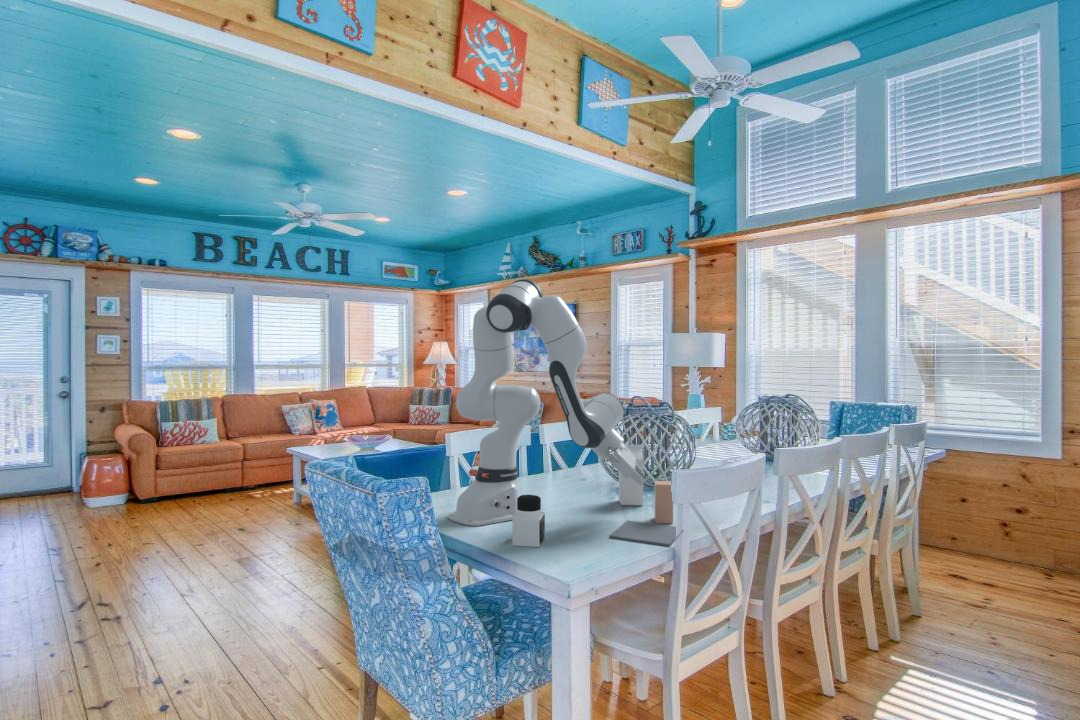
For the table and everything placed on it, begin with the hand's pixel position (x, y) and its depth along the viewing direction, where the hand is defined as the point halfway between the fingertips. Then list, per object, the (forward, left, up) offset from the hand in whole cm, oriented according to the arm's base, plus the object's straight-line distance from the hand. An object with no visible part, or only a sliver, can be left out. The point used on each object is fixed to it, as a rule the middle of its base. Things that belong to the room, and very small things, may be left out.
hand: (643, 480), depth 172 cm
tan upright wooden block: (+4, -4, -12) cm, 13 cm away
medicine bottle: (-38, +9, -12) cm, 40 cm away
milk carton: (+14, +15, -12) cm, 24 cm away
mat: (-10, -8, -12) cm, 17 cm away
